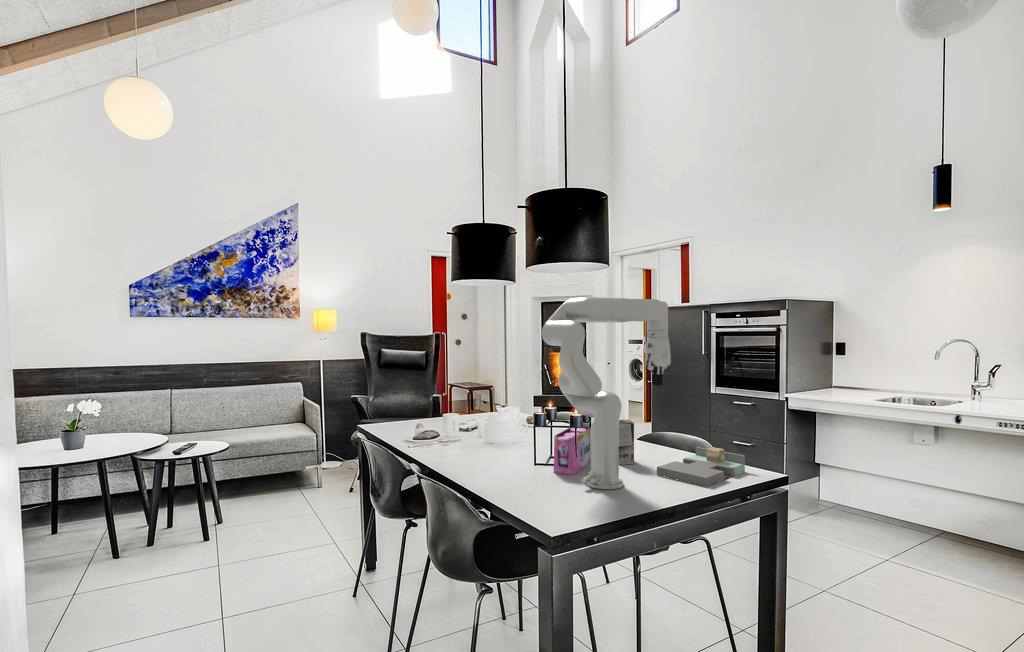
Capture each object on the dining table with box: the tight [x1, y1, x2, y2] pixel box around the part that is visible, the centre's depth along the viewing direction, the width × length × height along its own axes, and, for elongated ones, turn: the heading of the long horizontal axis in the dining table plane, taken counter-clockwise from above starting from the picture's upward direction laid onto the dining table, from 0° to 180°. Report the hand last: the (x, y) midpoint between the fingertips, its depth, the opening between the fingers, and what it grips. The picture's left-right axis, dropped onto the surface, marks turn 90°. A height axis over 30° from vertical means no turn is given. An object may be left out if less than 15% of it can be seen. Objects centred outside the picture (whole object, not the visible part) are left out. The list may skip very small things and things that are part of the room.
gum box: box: [553, 426, 591, 475], centre depth 203 cm, size 24×8×14 cm, turn 156°
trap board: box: [656, 446, 746, 487], centre depth 193 cm, size 28×19×6 cm
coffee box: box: [618, 419, 635, 465], centre depth 211 cm, size 9×6×16 cm
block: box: [706, 446, 725, 463], centre depth 199 cm, size 4×4×4 cm
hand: (657, 385), depth 195 cm, fingers closed
